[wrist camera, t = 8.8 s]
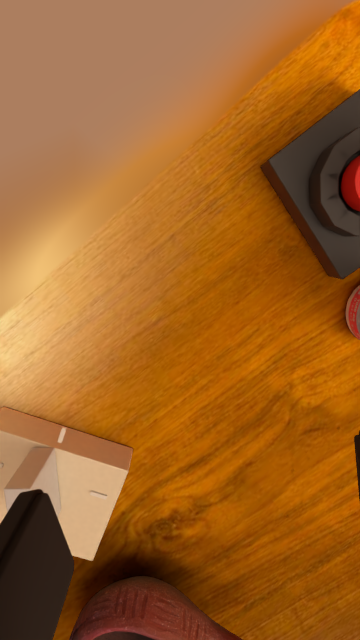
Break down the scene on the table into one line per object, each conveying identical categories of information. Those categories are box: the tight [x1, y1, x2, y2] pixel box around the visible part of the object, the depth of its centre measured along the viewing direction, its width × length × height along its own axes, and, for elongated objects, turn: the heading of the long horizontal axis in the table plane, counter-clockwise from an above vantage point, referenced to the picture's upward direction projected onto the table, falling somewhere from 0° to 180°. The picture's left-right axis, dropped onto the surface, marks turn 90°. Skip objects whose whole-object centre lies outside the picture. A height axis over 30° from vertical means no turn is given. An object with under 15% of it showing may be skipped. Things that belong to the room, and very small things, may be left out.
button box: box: [261, 89, 360, 279], centre depth 22 cm, size 10×8×4 cm
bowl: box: [69, 576, 242, 640], centre depth 30 cm, size 16×13×8 cm
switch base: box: [0, 407, 133, 561], centre depth 28 cm, size 12×12×3 cm
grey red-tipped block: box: [4, 447, 61, 517], centre depth 24 cm, size 6×2×5 cm, turn 0°
